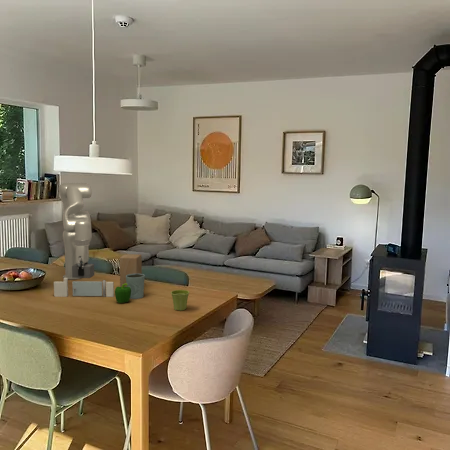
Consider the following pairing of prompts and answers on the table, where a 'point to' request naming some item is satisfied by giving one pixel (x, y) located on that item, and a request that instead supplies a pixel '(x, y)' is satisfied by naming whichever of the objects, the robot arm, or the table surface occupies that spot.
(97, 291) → the door
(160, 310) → the table surface
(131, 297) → the grey blue cup
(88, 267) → the dark grey block
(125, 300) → the bell pepper
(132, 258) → the wooden block
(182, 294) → the plant pot
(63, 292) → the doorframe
